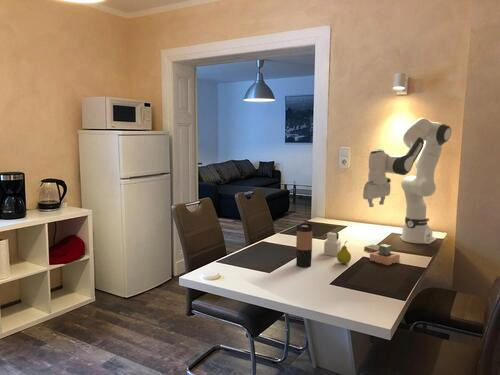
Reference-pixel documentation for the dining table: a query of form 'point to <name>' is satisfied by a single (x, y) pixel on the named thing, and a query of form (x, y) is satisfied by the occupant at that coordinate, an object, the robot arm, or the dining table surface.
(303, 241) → the travel mug
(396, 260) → the terracotta socket
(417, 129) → the robot arm
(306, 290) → the dining table surface
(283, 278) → the dining table surface
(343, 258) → the fruit
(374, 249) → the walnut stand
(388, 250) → the metal peg
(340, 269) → the dining table surface
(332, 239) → the medicine bottle
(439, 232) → the dining table surface
